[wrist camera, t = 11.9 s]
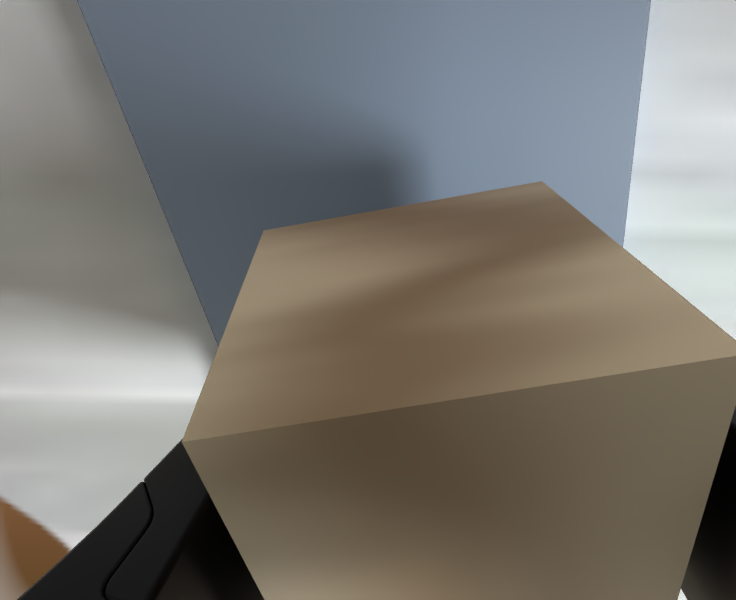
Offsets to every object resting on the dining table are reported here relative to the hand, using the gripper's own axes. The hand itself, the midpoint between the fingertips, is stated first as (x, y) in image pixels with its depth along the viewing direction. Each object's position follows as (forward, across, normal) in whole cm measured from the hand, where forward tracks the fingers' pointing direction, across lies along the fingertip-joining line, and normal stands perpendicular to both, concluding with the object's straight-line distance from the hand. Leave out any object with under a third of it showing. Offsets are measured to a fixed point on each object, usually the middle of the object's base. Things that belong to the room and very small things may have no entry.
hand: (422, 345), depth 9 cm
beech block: (+1, 0, 0) cm, 1 cm away
